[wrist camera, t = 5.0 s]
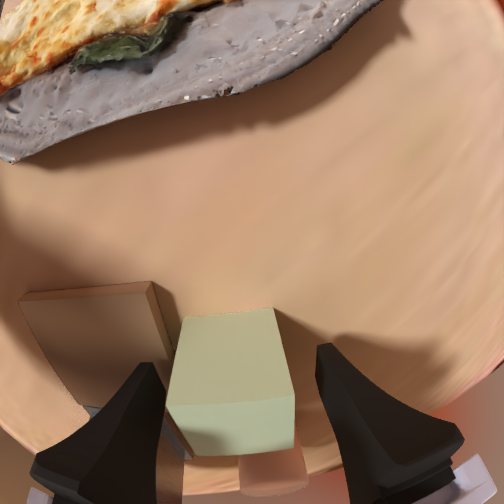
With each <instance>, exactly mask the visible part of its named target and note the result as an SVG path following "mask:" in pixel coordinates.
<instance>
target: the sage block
mask: <svg viewBox="0 0 504 504" xmlns="http://www.w3.org/2000/svg"><path fill="white" fill-rule="evenodd" d="M166 407H167V409H168V411H169V412H170V414H171V416H172V417H173V419H174V421H175V423H176V424H177V426H178V427H179V429H180V431H181V432H182V434H183V436H184V437H185V439H186V440H187V442H188V443H189V445H190V446H191V448H192V449H193V451H194V452H195V454H196V455H197V456H227V455H242V454H254V453H263V452H271V451H279V450H285V449H291V448H294V420H295V394H294V390H293V386H292V381H291V377H290V373H289V369H288V365H287V361H286V357H285V353H284V349H283V345H282V341H281V337H280V333H279V329H278V325H277V321H276V317H275V313H274V309H273V307H271V308H264V309H256V310H248V311H240V312H232V313H223V314H213V315H203V316H193V317H184V319H183V324H182V328H181V332H180V337H179V341H178V346H177V350H176V355H175V360H174V365H173V370H172V375H171V380H170V385H169V390H168V395H167V401H166Z"/></svg>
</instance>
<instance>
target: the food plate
mask: <svg viewBox="0 0 504 504" xmlns="http://www.w3.org/2000/svg"><path fill="white" fill-rule="evenodd" d="M380 1H383V0H24V1H23V2H22V3H21V4H20V5H18V6H17V7H16V8H15V9H13V10H12V11H11V12H9V13H8V14H7V15H6V16H5V17H4V18H3V19H2V20H1V21H0V159H2V160H4V161H6V162H9V163H11V161H12V162H15V161H17V160H18V161H19V159H22V158H23V157H26V156H28V155H29V156H28V157H30V156H32V155H34V154H36V153H38V152H40V151H42V150H44V149H46V148H47V147H50V146H53V145H55V144H57V143H58V142H61V141H63V140H65V139H68V138H70V137H74V136H77V135H80V134H83V133H85V132H87V131H90V130H92V129H95V128H98V127H101V126H104V125H107V124H110V123H112V122H115V121H118V120H122V119H125V118H128V117H131V116H134V115H138V114H141V113H145V112H148V111H153V110H157V109H161V108H164V107H169V106H173V105H178V104H183V103H188V102H193V101H199V100H205V99H211V98H218V97H215V95H216V94H217V93H218V94H219V95H220V96H222V97H225V96H223V94H224V90H226V89H227V90H228V91H230V93H231V94H229V95H227V96H232V95H239V94H240V92H245V91H246V90H248V89H252V88H253V87H254V86H257V87H259V84H265V83H267V82H272V81H274V79H275V78H277V79H279V78H280V79H281V78H284V77H285V76H287V75H289V74H290V73H293V72H294V71H295V70H296V69H299V68H300V67H303V66H305V65H307V64H308V63H310V62H311V61H312V60H313V59H315V58H317V57H318V56H319V55H320V54H322V53H324V52H325V51H327V50H330V49H331V48H332V45H333V44H335V42H337V41H338V40H339V39H340V38H341V37H342V35H343V34H344V33H347V32H348V30H349V28H351V27H352V26H353V24H355V23H356V21H358V20H359V19H360V18H361V17H362V16H363V15H364V14H366V13H367V11H371V9H372V7H375V6H376V5H377V4H379V3H380ZM4 2H5V0H0V17H1V13H2V9H3V4H4ZM198 98H200V99H199V100H198ZM190 100H193V101H190ZM31 153H33V154H31ZM21 157H22V158H21ZM28 157H26V158H28ZM26 158H24V159H26ZM24 159H22V160H24ZM22 160H20V161H22ZM20 161H19V162H20ZM13 165H14V164H13Z"/></svg>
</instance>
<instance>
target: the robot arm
mask: <svg viewBox="0 0 504 504" xmlns="http://www.w3.org/2000/svg"><path fill="white" fill-rule="evenodd" d="M315 378H316V382H317V386H318V390H319V394H320V397H321V400H322V402H323V405H324V407H325V410H326V412H327V415H328V417H329V420H330V423H331V425H332V428H333V430H334V433H335V436H336V439H337V442H338V446H339V450H340V454H341V458H342V462H343V466H344V471H345V476H346V481H347V486H348V492H349V498H350V504H483V503H484V502H485V501H487V500H488V499H489V498H490V497H491V496H493V495H494V494H495V493H496V492H497V488H496V487H495V484H494V482H493V480H492V478H491V476H490V475H489V473H488V471H487V469H486V467H485V465H484V463H483V461H482V460H481V458H480V456H479V454H475V455H474V456H472V457H471V458H470V459H468V460H467V461H465V462H464V463H462V464H460V465H459V466H458V467H456V468H455V469H453V470H452V469H451V467H450V466H451V465H452V463H453V462H452V460H451V458H450V457H451V456H452V455H453V454H454V453H455V452H456V451H457V450H458V449H459V448H460V447H461V446H462V445H463V443H464V440H465V439H464V437H463V436H462V434H461V432H460V430H459V429H458V428H457V426H456V425H455V424H454V423H451V422H448V421H444V420H441V419H438V418H434V417H432V416H429V415H427V414H424V413H422V412H419V411H417V410H415V409H413V408H411V407H409V406H407V405H405V404H403V403H402V402H400V401H398V400H397V399H395V398H393V397H392V396H390V395H389V394H387V393H386V392H384V391H383V390H382V389H380V388H379V387H378V386H376V385H375V384H374V383H373V382H371V381H370V380H369V379H368V378H367V377H365V376H364V375H363V374H362V373H361V372H360V371H359V370H358V369H356V368H355V367H354V366H353V365H352V364H351V363H350V362H349V361H348V360H347V359H346V358H345V357H344V356H343V355H342V354H341V353H340V352H339V351H338V349H337V348H336V347H335V346H334V345H333V344H332V343H327V344H322V345H317V356H316V371H315ZM165 403H166V390H165V387H164V385H163V383H162V381H161V379H160V377H159V375H158V373H157V371H156V369H155V366H154V364H153V362H140V363H139V365H138V366H137V367H136V368H135V370H134V371H133V372H132V373H131V375H130V376H129V377H128V378H127V380H126V381H125V382H124V383H123V385H122V386H121V387H120V388H119V390H118V391H117V392H116V393H115V395H114V396H113V397H112V398H111V399H110V400H109V401H108V402H107V404H106V405H105V406H104V407H103V408H102V409H101V410H100V411H99V412H98V413H97V414H96V415H95V416H94V417H93V418H92V419H91V420H90V421H88V422H87V423H86V424H85V425H84V426H82V427H81V428H80V429H78V430H77V431H76V432H74V433H73V434H72V435H70V436H69V437H67V438H66V439H64V440H63V441H61V442H59V443H57V444H56V445H54V446H52V447H50V448H48V449H46V450H43V451H41V452H39V453H37V454H36V457H35V459H34V462H33V465H32V467H31V470H30V475H31V477H32V478H33V479H34V480H36V481H37V482H38V483H40V484H41V485H43V486H44V487H46V488H47V489H49V490H50V491H52V492H53V493H55V494H54V497H52V496H50V495H48V494H46V493H44V492H42V491H40V490H38V489H36V488H34V487H31V489H30V492H29V496H28V499H27V503H26V504H157V497H156V457H157V449H158V443H159V438H160V433H161V428H162V423H163V418H164V412H165Z"/></svg>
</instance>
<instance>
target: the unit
mask: <svg viewBox="0 0 504 504" xmlns="http://www.w3.org/2000/svg"><path fill="white" fill-rule="evenodd" d="M83 407H84V409H85V410H86V411H87V412H88V414H89V415H90V419H89V421H90V420H91V419H92V418H93V417H94V416H95V415H96V414H97V413H98V412H99V411H100V410H101V409H102V408H99V407H92V406H85V405H83ZM184 460H193V451H192V449H191V448H190V446H189V445H188V443H187V442H186V440H185V438H184V437H183V435H182V434H181V432H180V430H179V429H178V427H177V426H176V424H175V422H174V421H173V419H172V417H171V415H170V414H169V412H164V418H163V423H162V428H161V433H160V438H159V443H158V449H157V457H156V497H157V504H182V490H183V474H184Z"/></svg>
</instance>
